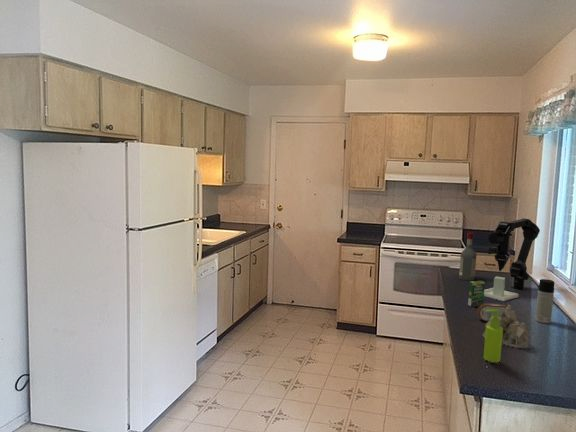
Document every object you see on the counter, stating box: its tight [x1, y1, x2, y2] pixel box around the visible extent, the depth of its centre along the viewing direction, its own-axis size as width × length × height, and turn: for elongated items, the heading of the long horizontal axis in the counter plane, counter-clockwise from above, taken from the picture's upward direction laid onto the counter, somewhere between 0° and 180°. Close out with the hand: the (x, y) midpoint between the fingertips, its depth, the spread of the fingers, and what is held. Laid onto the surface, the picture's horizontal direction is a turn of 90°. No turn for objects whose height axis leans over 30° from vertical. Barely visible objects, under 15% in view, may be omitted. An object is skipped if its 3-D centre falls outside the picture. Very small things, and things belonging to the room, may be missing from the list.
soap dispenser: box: [483, 309, 503, 362], centre depth 182 cm, size 6×7×20 cm
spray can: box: [534, 278, 555, 324], centre depth 231 cm, size 7×7×20 cm
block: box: [492, 276, 506, 297], centre depth 273 cm, size 5×5×10 cm
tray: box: [484, 287, 519, 302], centre depth 274 cm, size 15×15×2 cm
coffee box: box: [467, 280, 486, 308], centre depth 253 cm, size 8×3×13 cm, turn 107°
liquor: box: [458, 232, 477, 282], centre depth 310 cm, size 9×9×30 cm
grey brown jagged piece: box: [482, 304, 531, 347], centre depth 203 cm, size 16×16×15 cm
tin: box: [476, 302, 508, 322], centre depth 229 cm, size 15×3×8 cm, turn 84°
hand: (501, 269), depth 282 cm, fingers open, 9 cm apart
